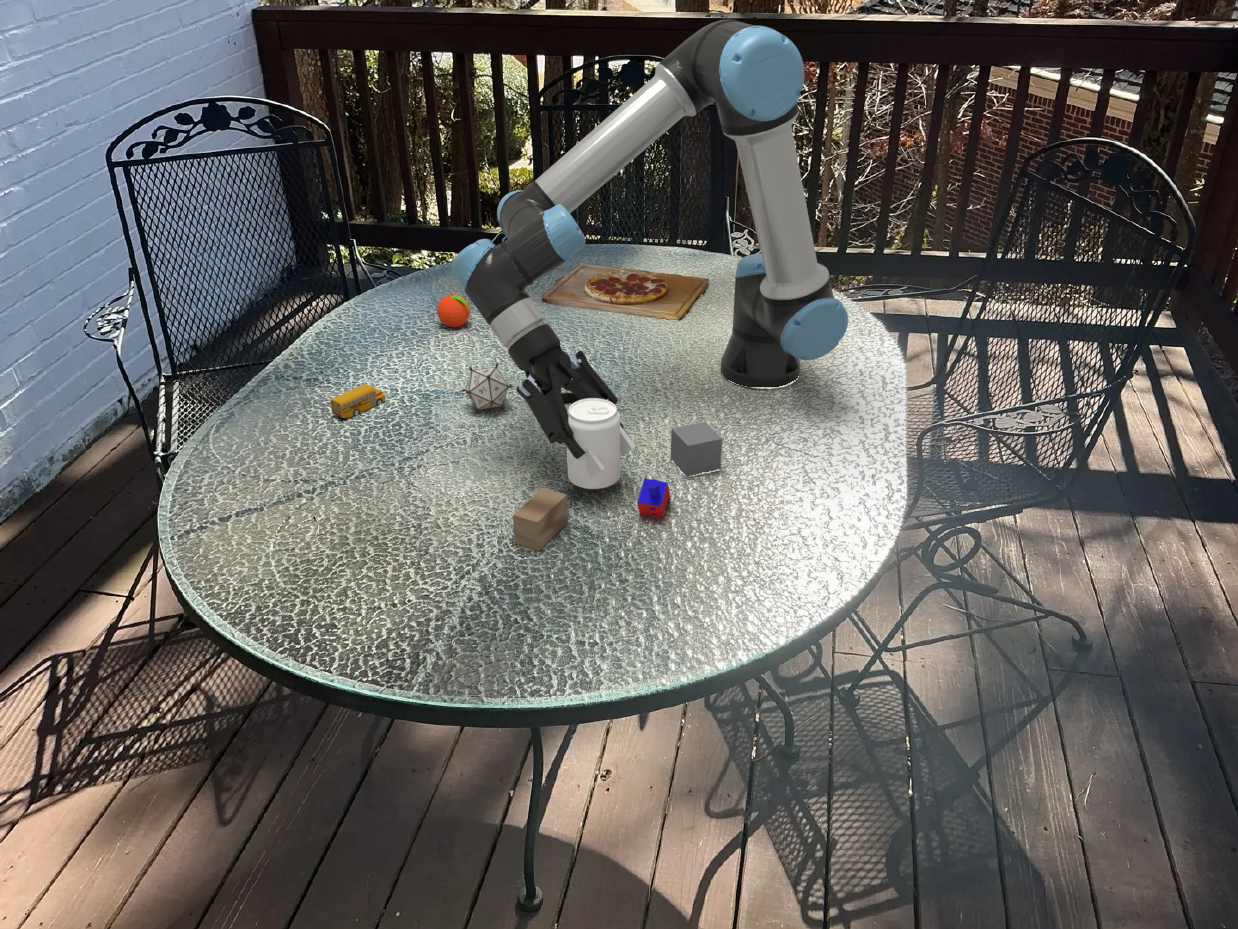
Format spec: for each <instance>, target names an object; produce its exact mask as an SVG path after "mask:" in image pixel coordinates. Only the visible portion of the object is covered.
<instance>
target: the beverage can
mask: <svg viewBox="0 0 1238 929" xmlns="http://www.w3.org/2000/svg"><path fill="white" fill-rule="evenodd" d="M567 413H568V416H569V418H568V422H569V426H570V428H571V430H572V431H573V433H574V435H573V437H574V439H575V440H576V442H577V443H578V444H579V446H580V447H581V448H582V449H583V450H584V451H585V452H586V448H587V449H588V450H589V451H591V452H592V453H594V454H595V455H596V456H597V458H598V459H599V460H600V462H601V463H602V465H603V466H604V469H603V470H601V471H600V472H598V473H597V474H596V475H594V476H593V477H591V475H590V474H589V473H588V471H587V470H586V453H585V454H584V455H583V456H581V457H580V458H578V459H576V458H575V457H574V456H573V455H572V453H571V451H570V450H569V449H568V447H567V446H566V461H567V464H566V466H567V477H568V479H569V481H570V482H571V483H572V484H573V485H574V486H577V487H579V488H583V489H586V490H599V489H605V488H608V487H611V486H613V485H614V484H616V483H617V482H618V481H619V480H620V477H621V476H622V475H621V472H622V471H621V453H620V422H621V416H620V413H619V411H618V409H617V405H616V406H615V404H613V403H612V402H610V401H608V400H605V399H599V398H588V399H582V400H580V399H579V400H577V401H575V402H572V403H571V404H570V406H569V407H568V410H567Z"/></svg>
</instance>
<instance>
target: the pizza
mask: <svg viewBox="0 0 1238 929" xmlns="http://www.w3.org/2000/svg"><path fill="white" fill-rule="evenodd" d="M709 282H710V279H709V278H704V277H696V276H692V275H689V276H686V275H682V274H678V273H677V274H676V273H675V274H674V273H664V272H654V271H649V270H642V269H639V270H638V269H632V268H623V267H616V266H611V265H607V266H606V265H601V264H593V263H585V262H582V263H578V265H577V266H575V267H573V269H572V270H570V271H569V273H567V274H566V275H564V276H562V277H560V278H557V279H555V283H554V284H553V286H551V287H550V288H549V289H548V290H546V291H545V292H543V293H542V294H541V295H540V296H541V298H542V300H544V301H545V303H547V304H549V305H553V306H559V307H561V306H562V307H568V308H569V307H570V308H576V309H584V310H591V311H598V312H605V313H613V314H621V315H626V316H633V317H634V316H635V317H641V316H642V318H643V317H644V318H653V317H654V319H655V320H659V319H666V320H679V319H680V318H681V319H683V318H684V317H685V315H686V314H688V313H689V311H690V309H691V308H690V306H691V307H692V306H693V304H694V303H695V302H694V301H696V300H697V299H699V297H700V296H699V295H701V294H703V295H704V294H705V291H706V288H707V286H708V284H709ZM698 296H699V297H698ZM696 298H697V299H696ZM693 302H694V303H693ZM689 308H690V309H689ZM687 312H688V313H687ZM685 313H686V314H685ZM684 314H685V315H684ZM683 316H684V317H683ZM682 317H683V318H682ZM681 319H680V320H681ZM680 320H679V321H680Z"/></svg>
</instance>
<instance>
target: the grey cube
mask: <svg viewBox="0 0 1238 929" xmlns="http://www.w3.org/2000/svg"><path fill="white" fill-rule="evenodd" d="M670 431H671V434H670V458H671V460H673V461H674V463H675V464H676V466H678V467H679V468H680V470H681V471H682V472H683V473H684V474H685V475H686V477H687V476H690V475H694V474H695V475H696V474H699V473H702V472H709V471H713V470H716V469H720V470H721V466H722V465H721V464H722V450H723V448H722V447H723V437H721V436H720V435H719V434H718V433H717V432H716V431H715V430H714V429H713V428H712V427H711V426H710V424H708V422H706V421H701V422H697V423H692V424H688V425H686V424H685V425H682V426H681V425H680V426H677V427H672V428H671V430H670ZM671 460H670V461H671ZM676 466H675V467H676ZM686 477H685V478H686Z"/></svg>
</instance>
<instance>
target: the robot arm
mask: <svg viewBox="0 0 1238 929" xmlns="http://www.w3.org/2000/svg"><path fill="white" fill-rule="evenodd" d="M654 72H655V73H654V76H653V77H652V78H650V80H649V81H647V82H646V83H645V84H644V85H643V86H641V87H640V88H639V89H638V90H637V91H636V92H635V93H633V95H632V96H630V97H629V98H628V99H627V100H626V101H625V102H624V103H622V104H621V105H620V106H619V107H618V108H616V109H615V110H614V111H613V112H612V113H610V115H609V116H607V117H606V118H604V120H603V121H602V122H600V123H599V124H598V125H597V126H596V127H595V128H593V130H591V132H589V133H588V134H587V135H585V137H583V138H582V139H581V140H579V141H578V142H577V143H576V144H575V145H574V146H573V147H572V148H570V150H568V152H565V154H564V155H563V156H561V157H560V158H559V159H558V160H557V161H556V162H555V163H553V164H552V165H551V166H550V167H549V168H548V169H547V170H545V171H544V172H543V173H542V174H541V175H540V176H539V177H538V178H537V179H535V180H534V181H533V182H532V183H530V184H529V185H528V186H526V187H525V189H523V190H513V191H510V192H509V193H507V194H505V195H504V196H503V197H502V198H501V200H500V201H499V204H497V205H498V206H497V210H496V212H497V213H496V216H497V217H496V218H497V221H498V224H499V226H500V228H501V230H502V233H503V234H504V236H505V237H506V238H507V239H506V240H504V241H503V242H501V243H499V244H497V245H496V244H495V243H493V242H492V241H491V239H488V238H482V239H478V240H476V241H475V242H473V243H471V244H469V245H468V246H466V247H465V248H463V249H462V250H461V251H460V252H459V253H458V254H457V255H456V256H455V257H454V259H453V261H452V264H451V269H452V272H453V275H454V276H455V278H456V280H457V281H458V283H459V284H460V286H461V287H462V290H463V292H464V293H465V294H466V295H467V296H468V298H469V300H470V301H471V302H472V303H473V305H474V307H475V308H476V309H477V311H478V312H479V314H480V315H481V316H482V318H483V319H484V320H485V322H486V324H488V326H489V328H490V329H491V331H492V332H493V334H494V335H495V337H496V338H497V339H498V340H499V342H500V344H501V345H502V347H504V348H508V350H507V351H508V352H507V354H508V355H509V356H510V358H511V359H512V361H513V362H514V364H515V365H516V367H517V368H518V370H520V371H523V372H524V374H525V379H524V380H523V381H522V382H521V383H520V384H519V385H518V386H516V389H515V390H516V392H517V393H518V394H519V395H520V396H521V398H523V399H524V400H525V402H526V404H527V405H528V406H529V409H530V411H531V413H532V414H533V416H534V417H535V420H536V421H537V423H538V424H539V426H540V429H541V430H542V432H543V434H544V435H545V436H546V438H547V440H548V442H549V443H551V444H555V443H557V444H559V445H562V444H564V445H565V446H566V448H567V447H568V449H569V450H570V451H571V453H572V455H573V456H574V457H575V458H576V459H578V458H580V457H581V456H583V455H584V454H585V453H586V470H587V471H588V473H589V474H590V475H591V477H593V476H594V475H596V474H597V473H598V472H600V471H601V470H603V469H604V466H603V465H602V463H601V462H600V460H599V459H598V458H597V456H596V455H595V454H594V453H592V452H591V451H589V450H588V449H587V448H586V452H585V451H584V450H583V449H582V448H581V447H580V446H579V444H578V443H577V442H576V440H575V439H574V437H573V435H574V433H573V431H572V430H571V428H570V426H569V422H568V418H569V416H568V410H567V408H566V405H565V402H564V399H563V397H562V391H563V390H565V391H567V392H571V393H572V394H573V395H574V396H575V397H577V398H578V399H579V400H582V399H588V398H599V399H605V400H608V401H610V402H612V403H613V404H615V406H616V407H617V405H616V404H617V403H618V401H619V399H618V397H617V396H616V394H614V393H613V391H612V390H611V388H609V386H608V385H607V384H606V383H605V381H604V380H603V379H602V377H600V376H599V374H598V373H597V371H596V370H595V369H594V368H593V367H592V366H591V364H590V363H589V361H588V359H587V357H586V354H585V352H584V351H582V350H579V351H577V352H576V353H575V354H574V353H573V354H568V353H567V352H565V351H564V350H563V349H562V347H561V340H560V338H559V337H558V335H557V334H556V333H555V331H554V330H553V328H552V327H551V326H550V324H547V323H545V320H546V318H545V317H544V315H543V314H542V312H541V311H540V310H539V308H538V307H537V305H536V304H535V303H534V301H533V300H532V298H531V297H530V295H529V294H528V293H527V291H526V289H527V288H529V287H530V286H531V285H533V284H534V283H535V282H538V280H540V279H542V278H543V277H544V276H546V275H548V274H549V273H550V272H552V271H553V270H555V269H556V268H557V267H560V266H561V265H563V263H565V262H567V261H570V260H571V259H572V257H573V256H575V255H576V254H578V252H580V251H581V250H582V249H583V248H584V247H585V245H586V238H585V235H584V233H583V231H582V230H581V228H580V227H579V225H578V223H577V222H576V220H575V218H574V217H573V216H572V214H571V213H572V212H574V211H575V210H576V209H577V208H578V207H579V206H580V205H582V204H583V203H584V202H586V200H587V199H589V198H590V197H591V196H592V195H593V194H595V193H596V192H597V191H598V190H599V189H600V188H601V187H604V185H605V184H606V183H608V181H610V180H611V179H613V177H614V176H616V175H617V174H618V173H619V172H621V170H622V169H624V168H625V167H626V166H628V165H629V163H631V162H632V161H633V160H635V158H637V157H638V156H639V155H640V154H642V152H644V151H645V150H646V149H647V148H649V147H650V145H652V144H653V143H654V142H656V141H657V140H658V139H659V138H661V136H662V135H664V134H665V133H666V132H667V131H668V130H669V129H671V128H672V127H673V126H674V125H675V124H677V123H678V122H679V121H680V120H682V118H683V117H694V116H696V115H697V114H698V113H699V112H701V110H703V109H705V108H706V107H708V106H710V105H711V104H714V103H715V105H716V108H717V113H718V116H719V121H720V126H721V128H722V132H723V134H724V136H726V137H728V138H730V139H731V140H733V141H734V142H735V145H736V149H737V150H736V151H737V154H738V158H739V162H740V167H741V171H742V175H743V176H742V177H743V180H744V184H745V188H746V193H747V198H748V202H749V206H750V210H751V214H752V219H753V224H754V229H755V232H756V237H757V241H758V242H757V243H758V245H759V250H760V253H753V254H748V255H745V256H743V257H741V258H740V259H739V260H738V262H737V265H736V269H735V270H736V271H735V274H734V279H735V282H734V296H733V298H734V299H733V315H732V316H733V317H732V327H731V328H732V330H731V332H732V333H731V335H730V337H729V340H728V343H727V345H726V346H725V349H724V352H723V354H722V356H721V361H720V374H721V375H722V374H723V376H724V377H725V378H726V379H727V380H726V379H725V378H724V377H723V376H722V377H723V378H724V379H725V380H726V381H728V380H730V381H732V382H734V383H736V384H739V385H743V386H747V387H779V386H783V385H786V384H788V383H790V382H792V381H794V380H796V379H797V378H798V376H799V377H800V375H799V374H800V373H801V361H813V360H818V359H820V358H823V357H825V356H826V355H828V354H829V353H831V352H832V351H833V350H834V349H835V348H836V347H837V346H838V345H839V343H840V342H841V340H843V338H844V337H845V334H846V332H847V329H848V325H849V314H848V312H847V309H846V307H845V306H844V304H843V303H842V301H840V300H838V299H837V298H835V297H834V293H833V288H832V283H831V282H832V281H831V276H830V273H829V272H830V271H829V270H828V268H827V267H826V266H824V264H821V263H819V262H818V258H817V254H816V253H817V252H816V250H815V249H816V248H815V244H814V238H813V233H812V229H811V227H812V226H811V222H810V217H809V214H808V213H809V212H808V207H807V201H806V197H805V191H804V190H805V189H804V185H803V180H802V175H801V171H800V164H799V160H798V155H797V150H796V143H795V139H794V134H793V133H794V132H793V128H792V125H793V123H794V122H795V120H796V119H797V117H798V115H799V113H800V109H799V105H798V104H799V103H798V100H799V95H800V93H801V92H802V91H803V87H804V83H805V65H804V61H803V57H802V55H801V53H800V51H799V49H798V48H797V46H796V44H795V43H793V41H792V40H791V39H789V37H787V36H786V35H784V34H782V33H780V32H779V31H777V30H775V29H773V28H771V27H767V26H763V25H753V24H749V23H746V22H743V21H741V20H737V19H736V20H735V19H722V20H721V19H720V20H718V21H714V22H711V23H709V24H707V25H705V26H703V27H701V28H700V29H699V30H697V31H696V32H695V33H694V34H692V35H690V36H689V37H688V38H686V39H685V40H684V41H683V42H682V43H681V44H680V45H678V46H677V47H676V48H675V49H673V51H672V52H670V53H669V54H668V55H667V56H666V57H665V58H664V59H662V60H661V61H660V62H659V63H658V64H657V65H656V66H655V71H654ZM798 379H799V378H798ZM736 384H735V385H736ZM739 385H738V386H739ZM562 389H563V390H562ZM635 448H636V446H635V445H634V443H633V441H632V440H631V439H630V437H629V435H627V432H626V431H625V430H624V425H623V423H622V422H621V421H620V456H622V457H623V456H624V455H626V454H627V453H629V452H630V451H632V450H633V449H635Z"/></svg>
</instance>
